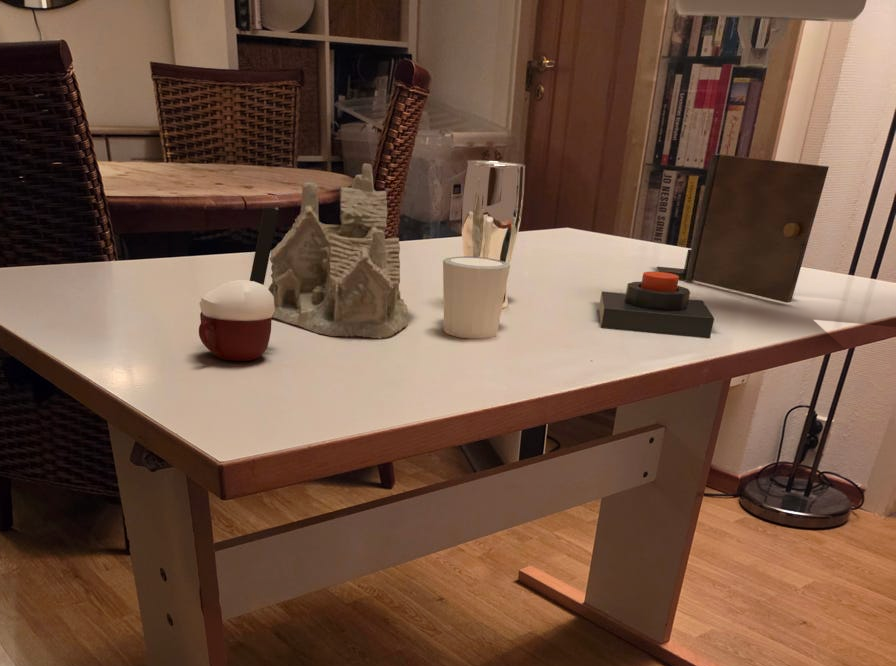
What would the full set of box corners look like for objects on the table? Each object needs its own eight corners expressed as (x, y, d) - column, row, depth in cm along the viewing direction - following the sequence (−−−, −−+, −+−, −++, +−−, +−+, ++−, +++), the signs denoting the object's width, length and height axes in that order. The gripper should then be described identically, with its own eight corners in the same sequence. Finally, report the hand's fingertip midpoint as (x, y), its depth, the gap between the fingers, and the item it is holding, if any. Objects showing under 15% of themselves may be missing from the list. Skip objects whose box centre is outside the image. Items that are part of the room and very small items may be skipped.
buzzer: (698, 319, 104) (706, 284, 102) (709, 338, 96) (718, 300, 93) (598, 310, 105) (604, 275, 103) (600, 328, 97) (607, 290, 95)
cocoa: (208, 371, 73) (197, 216, 67) (179, 353, 78) (166, 205, 71) (306, 359, 78) (304, 214, 72) (273, 343, 83) (269, 204, 76)
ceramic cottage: (273, 296, 100) (272, 148, 91) (414, 313, 99) (427, 166, 90) (238, 336, 87) (233, 169, 78) (399, 356, 87) (412, 191, 78)
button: (673, 289, 100) (677, 273, 99) (677, 296, 96) (681, 279, 96) (639, 286, 100) (642, 270, 99) (641, 292, 97) (644, 276, 96)
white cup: (428, 325, 93) (432, 255, 89) (485, 323, 95) (492, 255, 91) (453, 341, 87) (459, 267, 84) (513, 339, 90) (522, 267, 86)
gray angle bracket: (690, 276, 130) (697, 248, 128) (694, 281, 127) (700, 251, 125) (655, 273, 131) (661, 244, 129) (657, 278, 128) (663, 248, 125)
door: (792, 302, 115) (830, 166, 107) (781, 303, 114) (819, 166, 105) (689, 277, 127) (716, 153, 118) (678, 278, 126) (704, 153, 117)
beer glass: (497, 298, 108) (512, 161, 100) (520, 310, 102) (537, 167, 94) (445, 298, 106) (456, 158, 98) (466, 310, 100) (478, 164, 92)
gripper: (691, -98, 90) (664, 61, 97) (895, -92, 88) (852, 70, 95) (684, -87, 95) (659, 63, 103) (876, -81, 93) (836, 72, 101)
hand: (753, 67), depth 99 cm, fingers closed
